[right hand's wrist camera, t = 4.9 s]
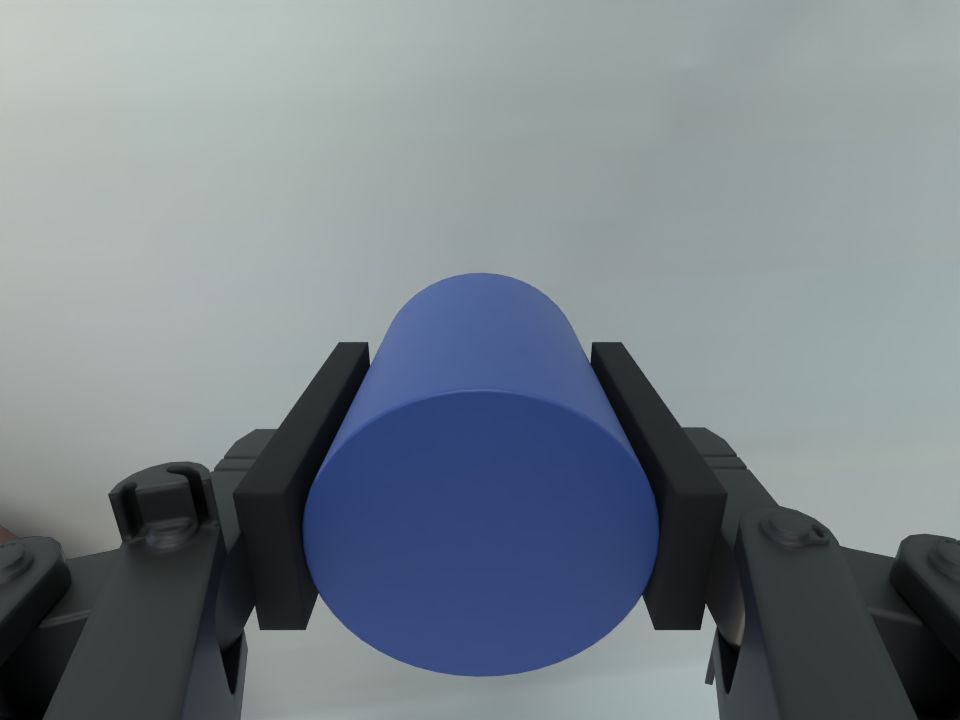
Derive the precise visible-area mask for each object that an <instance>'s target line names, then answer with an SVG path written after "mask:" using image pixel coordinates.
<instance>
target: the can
mask: <svg viewBox="0 0 960 720" xmlns="http://www.w3.org/2000/svg"><path fill="white" fill-rule="evenodd" d="M302 532H303V548H304V553H305V558H306V563H307V567H308V569H309V572H310V575H311V578H312V580H313V583H314V585H315V587H316V588H317V590H318V592H319V594H320V596H321V597H322V599H323V601H324V602H325V603H326V605H327V606H328V607H329V609H330V610H331V611H332V613H333V614H334V615H335V616H336V617H337V618H338V619H339V620H340V621H341V622H342V623H343V624H344V625H345V626H346V627H347V628H348V629H349V630H350V631H351V632H353V633H354V634H355V635H356V636H358V637H359V638H360V639H361V640H363V641H364V642H366V643H367V644H369V645H370V646H372V647H374V648H375V649H377V650H378V651H380V652H382V653H384V654H386V655H388V656H390V657H392V658H394V659H396V660H399V661H402V662H404V663H407V664H410V665H413V666H415V667H419V668H423V669H426V670H430V671H434V672H439V673H446V674H452V675H461V676H476V677H478V676H501V675H509V674H518V673H522V672H527V671H531V670H536V669H540V668H543V667H546V666H549V665H552V664H555V663H558V662H560V661H562V660H565V659H567V658H569V657H572V656H574V655H576V654H578V653H580V652H581V651H583V650H585V649H587V648H588V647H590V646H592V645H593V644H595V643H596V642H597V641H599V640H600V639H602V638H603V637H604V636H606V635H607V634H608V633H610V632H611V631H612V630H613V629H614V628H615V627H616V626H617V625H618V624H619V623H620V622H621V621H622V620H623V619H624V618H625V617H626V616H627V615H628V613H629V612H630V611H631V610H632V609H633V607H634V606H635V605H636V603H637V602H638V600H639V598H640V597H641V595H642V594H643V592H644V590H645V589H646V586H647V584H648V582H649V580H650V577H651V575H652V573H653V569H654V566H655V562H656V558H657V554H658V546H659V536H660V529H659V514H658V510H657V505H656V501H655V497H654V494H653V491H652V489H651V486H650V484H649V481H648V479H647V477H646V475H645V473H644V471H643V469H642V467H641V465H640V463H639V461H638V459H637V457H636V455H635V453H634V451H633V449H632V447H631V445H630V443H629V441H628V439H627V437H626V435H625V433H624V431H623V429H622V427H621V425H620V423H619V420H618V418H617V416H616V414H615V412H614V410H613V408H612V406H611V404H610V402H609V400H608V398H607V396H606V394H605V392H604V390H603V388H602V386H601V384H600V382H599V380H598V378H597V376H596V374H595V372H594V370H593V368H592V366H591V364H590V362H589V360H588V358H587V356H586V354H585V352H584V350H583V348H582V346H581V344H580V342H579V340H578V338H577V336H576V334H575V332H574V330H573V328H572V326H571V325H570V323H569V321H568V320H567V318H566V316H565V315H564V314H563V312H562V311H561V310H560V309H559V307H558V306H557V305H556V304H555V303H554V302H553V301H552V300H551V299H550V298H548V297H547V296H546V295H545V294H543V293H542V292H540V291H539V290H538V289H536V288H534V287H532V286H530V285H529V284H527V283H525V282H522V281H520V280H517V279H514V278H511V277H507V276H503V275H498V274H488V273H472V274H464V275H458V276H454V277H450V278H447V279H444V280H441V281H439V282H437V283H435V284H433V285H430V286H429V287H427V288H425V289H424V290H422V291H421V292H419V293H418V294H416V295H415V296H414V297H413V298H412V299H411V300H409V301H408V302H407V303H406V304H405V305H404V307H403V308H402V309H401V310H400V311H399V312H398V314H397V315H396V317H395V318H394V320H393V321H392V323H391V325H390V327H389V329H388V331H387V333H386V335H385V337H384V339H383V341H382V343H381V345H380V347H379V349H378V351H377V354H376V356H375V358H374V360H373V362H372V364H371V366H370V368H369V370H368V372H367V374H366V376H365V378H364V380H363V382H362V384H361V386H360V388H359V390H358V392H357V394H356V396H355V398H354V400H353V402H352V404H351V406H350V408H349V410H348V412H347V415H346V417H345V419H344V421H343V423H342V425H341V427H340V429H339V431H338V433H337V435H336V437H335V439H334V441H333V443H332V445H331V447H330V449H329V451H328V453H327V455H326V457H325V459H324V461H323V463H322V465H321V467H320V469H319V472H318V474H317V476H316V478H315V480H314V482H313V484H312V486H311V488H310V491H309V494H308V498H307V501H306V504H305V509H304V517H303V524H302Z"/></svg>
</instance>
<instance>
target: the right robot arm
mask: <svg viewBox="0 0 960 720" xmlns="http://www.w3.org/2000/svg"><path fill="white" fill-rule="evenodd" d="M591 366H592V368H593V370H594V372H595V374H596V376H597V378H598V380H599V382H600V384H601V386H602V388H603V390H604V392H605V394H606V396H607V398H608V400H609V402H610V404H611V406H612V408H613V410H614V412H615V414H616V416H617V418H618V420H619V423H620V425H621V427H622V429H623V431H624V433H625V435H626V437H627V439H628V441H629V443H630V445H631V447H632V449H633V451H634V453H635V455H636V457H637V459H638V461H639V463H640V465H641V467H642V469H643V471H644V473H645V475H646V477H647V479H648V481H649V484H650V486H651V489H652V491H653V494H654V497H655V501H656V505H657V510H658V514H659V529H660V536H659V546H658V554H657V558H656V562H655V566H654V569H653V573H652V575H651V577H650V580H649V582H648V584H647V586H646V589H645V590H644V592H643V594H642V595H643V598H644V601H645V604H646V606H647V609H648V612H649V615H650V618H651V620H652V623H653V626H654V629H655V630H700V629H701V624H702V619H703V614H704V609H705V604H707V606H708V608H709V610H710V613H711V615H712V617H713V619H714V621H715V623H716V625H717V627H716V632H715V637H714V641H713V646H712V650H711V655H710V659H709V664H708V669H707V674H706V680H705V683H706V684H710V685H712V684H713V680H714V675H715V679H716V688H717V698H718V707H719V716H720V720H960V540H958V541H957V540H956V539H953V538H949V537H944V536H937V535H930V534H918V535H910V536H908V537H907V538H905V539H904V540H903V541H901V543H900V546H899V549H898V552H897V554H896V557H895V558H893V557H888V556H883V555H879V554H874V553H869V552H864V551H859V550H854V549H850V548H846V547H842V546H840V545H839V543H838V541H837V539H836V538H835V537H834V535H833V534H832V533H831V531H830V530H829V529H828V528H827V527H825V526H824V525H822V524H821V523H820V522H818V521H817V520H816V519H814V518H812V517H810V516H808V515H806V514H803V513H801V512H799V511H797V510H793V509H789V508H785V507H781V506H779V505H778V504H777V503H776V502H775V500H774V499H773V498H772V497H771V496H770V494H769V493H768V492H767V491H766V489H765V488H764V487H763V486H762V485H761V483H760V482H759V481H758V480H757V479H756V477H755V476H754V475H753V474H752V472H751V471H750V470H747V466H746V465H745V464H744V463H743V461H742V460H741V459H740V458H739V457H737V454H736V453H735V452H734V451H733V449H732V448H731V447H730V446H729V444H728V443H727V442H726V441H725V440H724V439H722V438H721V437H719V436H718V435H716V434H714V433H713V432H711V431H710V430H708V429H706V428H681V426H680V425H679V423H678V422H677V420H676V419H675V418H674V416H673V415H672V413H671V412H670V411H669V409H668V408H667V406H666V405H665V403H664V402H663V401H662V399H661V398H660V396H659V395H658V394H657V392H656V391H655V389H654V388H653V386H652V385H651V384H650V382H649V381H648V379H647V378H646V377H645V375H644V374H643V372H642V371H641V369H640V368H639V367H638V365H637V364H636V362H635V361H634V360H633V358H632V357H631V355H630V354H629V353H628V351H627V350H626V348H625V347H624V345H623V344H622V343H621V342H592V352H591ZM369 368H370V359H369V347H368V342H339V343H338V345H337V346H336V347H335V349H334V350H333V352H332V353H331V354H330V356H329V357H328V359H327V360H326V362H325V363H324V364H323V366H322V367H321V369H320V370H319V371H318V373H317V374H316V376H315V377H314V379H313V380H312V381H311V383H310V384H309V386H308V387H307V388H306V390H305V391H304V393H303V394H302V396H301V397H300V398H299V400H298V401H297V403H296V404H295V405H294V407H293V408H292V410H291V411H290V413H289V414H288V415H287V417H286V418H285V420H284V421H283V422H282V424H281V425H280V427H279V428H278V429H255V430H254V431H252V432H251V433H249V434H247V435H246V436H244V437H243V438H241V439H239V440H238V441H236V442H235V443H234V445H233V446H232V447H231V448H230V450H229V451H228V452H227V453H226V455H225V456H224V459H221V461H220V462H219V463H218V464H217V466H216V467H215V468H214V471H212V472H211V473H210V471H209V470H208V469H207V468H206V467H204V466H203V465H202V464H198V463H193V462H170V463H166V464H161V465H157V466H153V467H150V468H147V469H145V470H142V471H140V472H137V473H135V474H132V475H131V476H129V477H128V478H126V479H124V480H123V481H121V482H120V483H118V484H117V485H116V486H115V487H114V489H113V490H112V491H111V492H110V493H109V494H108V495H109V499H110V502H111V505H112V508H113V512H114V515H115V518H116V521H117V525H118V528H119V531H120V535H121V538H122V541H123V542H122V544H121V546H120V548H119V549H116V550H112V551H108V552H103V553H98V554H93V555H88V556H84V557H79V558H74V559H69V560H66V559H65V556H64V553H63V550H62V548H61V545H60V543H58V542H57V541H56V540H54V539H53V538H49V537H40V536H33V537H27V538H20V539H14V540H10V541H6V542H5V543H0V720H240V718H241V709H242V699H243V690H244V680H245V671H246V661H247V652H248V648H247V642H246V637H245V632H244V626H245V624H246V622H247V620H248V618H249V616H250V614H251V612H252V610H253V608H254V606H255V607H256V612H257V617H258V622H259V627H260V630H306V627H307V624H308V621H309V619H310V616H311V613H312V610H313V607H314V605H315V602H316V599H317V596H318V593H319V592H318V590H317V588H316V587H315V585H314V583H313V580H312V578H311V575H310V572H309V569H308V567H307V563H306V558H305V553H304V548H303V532H302V524H303V517H304V509H305V504H306V501H307V498H308V494H309V491H310V488H311V486H312V484H313V482H314V480H315V478H316V476H317V474H318V472H319V469H320V467H321V465H322V463H323V461H324V459H325V457H326V455H327V453H328V451H329V449H330V447H331V445H332V443H333V441H334V439H335V437H336V435H337V433H338V431H339V429H340V427H341V425H342V423H343V421H344V419H345V417H346V415H347V412H348V410H349V408H350V406H351V404H352V402H353V400H354V398H355V396H356V394H357V392H358V390H359V388H360V386H361V384H362V382H363V380H364V378H365V376H366V374H367V372H368V370H369Z"/></svg>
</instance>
